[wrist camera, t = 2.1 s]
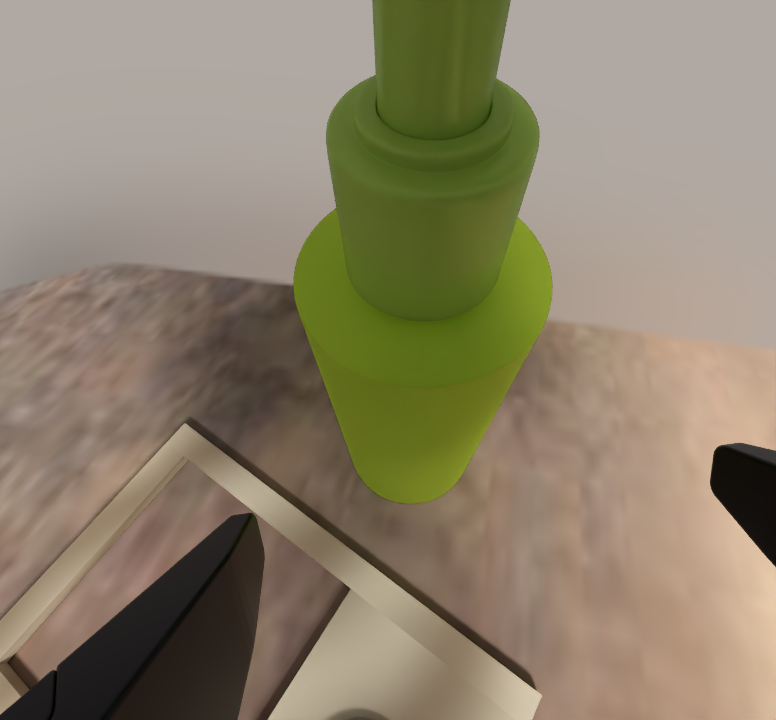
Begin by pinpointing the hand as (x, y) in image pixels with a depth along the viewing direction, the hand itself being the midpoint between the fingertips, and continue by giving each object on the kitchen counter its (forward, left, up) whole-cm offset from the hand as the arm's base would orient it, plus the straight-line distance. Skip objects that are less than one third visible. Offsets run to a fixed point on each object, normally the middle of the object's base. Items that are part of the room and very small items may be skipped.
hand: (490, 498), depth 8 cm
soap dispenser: (+3, -4, -12) cm, 13 cm away
